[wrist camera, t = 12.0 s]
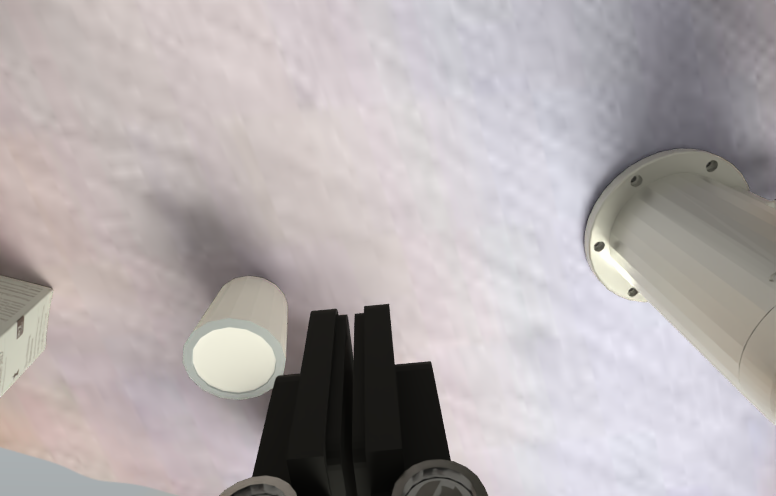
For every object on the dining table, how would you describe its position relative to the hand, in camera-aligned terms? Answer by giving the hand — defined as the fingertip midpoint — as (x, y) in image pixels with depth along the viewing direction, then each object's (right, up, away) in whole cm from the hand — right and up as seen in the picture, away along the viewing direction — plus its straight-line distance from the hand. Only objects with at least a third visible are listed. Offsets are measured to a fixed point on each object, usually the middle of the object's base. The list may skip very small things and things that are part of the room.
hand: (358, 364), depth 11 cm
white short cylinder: (-10, -2, +30) cm, 32 cm away
